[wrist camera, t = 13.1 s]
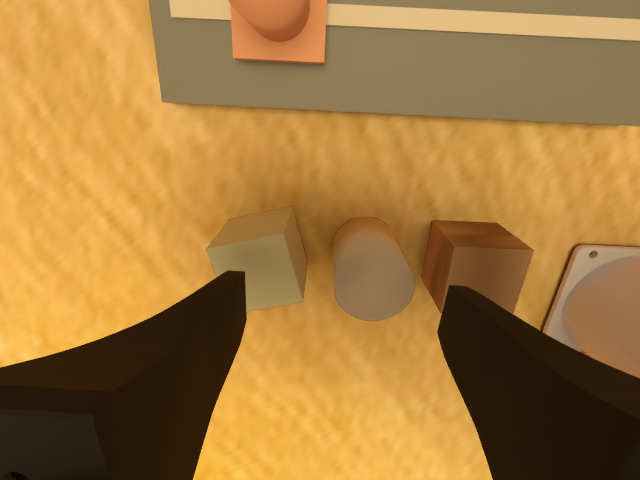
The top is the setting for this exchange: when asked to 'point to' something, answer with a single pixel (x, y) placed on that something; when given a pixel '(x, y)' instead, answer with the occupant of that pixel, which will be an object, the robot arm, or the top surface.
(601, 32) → the slate board
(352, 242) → the grey cylinder
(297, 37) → the counter slider
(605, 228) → the top surface
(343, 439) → the top surface
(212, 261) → the sage block
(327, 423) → the top surface
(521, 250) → the walnut block
